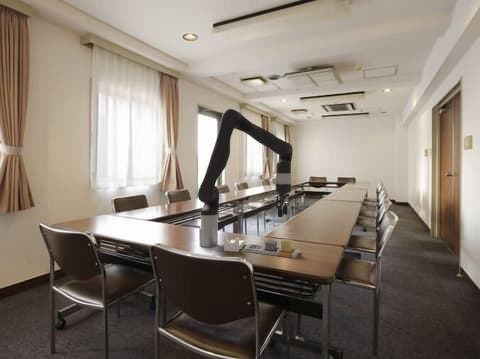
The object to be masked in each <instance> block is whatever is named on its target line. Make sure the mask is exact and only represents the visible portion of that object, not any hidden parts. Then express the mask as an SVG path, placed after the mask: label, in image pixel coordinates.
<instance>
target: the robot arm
mask: <svg viewBox="0 0 480 359" xmlns="http://www.w3.org/2000/svg"><path fill="white" fill-rule="evenodd" d="M234 130H238V131H241V132H243V133H244V134H247V135H248V136H250V137H251V138H252V139H253V140H255V141H256V142H258V143H259V144H261V145H262V146H264V147H266V148H268V149H269V150H270V151H272V152H273V153H275V154H276V155H277V156H278V161H277V163H276V165H275V166H276V167H275V168H276V171H275V172H276V173H275V190H274V191H275V192H276V193H278V195H276V202H275V203H276V204H275V208H276V209H277V217H278V218H283V215H288V212H289V211H288V207H289V206H290V193H291V192H292V159H293V152H294V151H293V146H292V144H291V143H289V141H285V140H284V139H281V138H279V137H278V136H276V135H275V134H273V133H272V132H270V131H268V130H266V129H264V128H263V127H261V126H259V125H257V124H255V123H253V121H252V122H251V121H250V120H249V119H248V118H246V117H245V116H244V115H243V114H242V113H241V112H240V111H237V110H235V109H232V108H228V109H226V110H225V111H224V112H223V114H222V116H221V120H220V125H219V130H218V134H217V137H216V141H215V143H214V146H213V149H212V152H211V155H210V159H209V162H208V164H207V167H206V172H205V174H204V177H203V179H202V182H201V184H200V185H199V188H198V190H197V191H198V192H197V198H198V200H199V201H200V202H201V203H203V206H202V208H201V209H200V228H199V232H198V233H199V246H201V247H203V248H214V247H217V246H218V245H219V238H218V236H219V233H218V230H219V227H218V226H219V224H218V223H219V221H218V220H219V219H218V218H219V217H218V215H219V214H218V212H219V209H220V191H219V189H218V187H217V186H216V183H217V180H218V179H219V177H220V175H221V174H222V173H223V172H224V170H225V168H226V166H227V165H228V161H229V159H230V154H231V138H232V134H233V131H234Z"/></svg>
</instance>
